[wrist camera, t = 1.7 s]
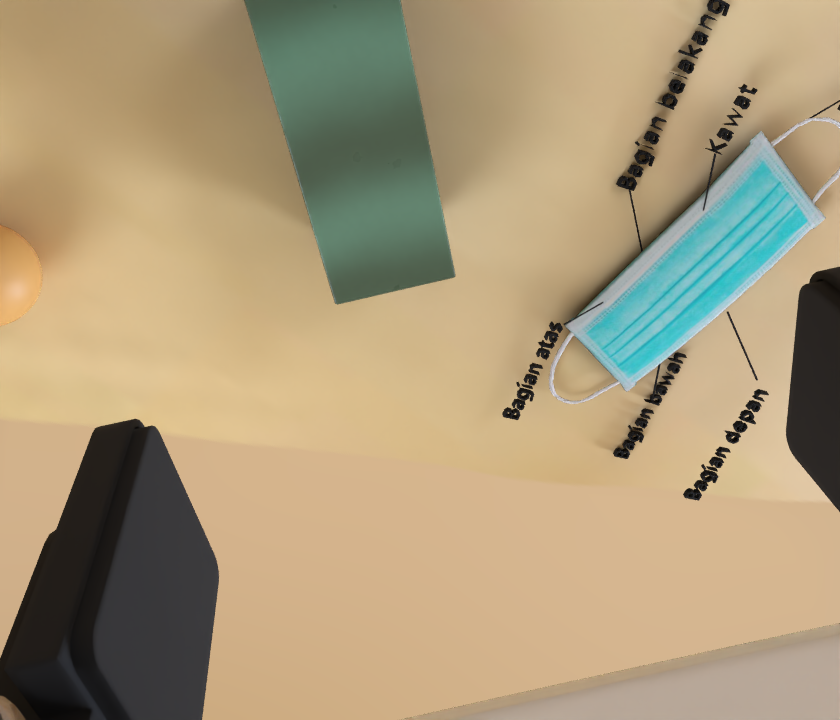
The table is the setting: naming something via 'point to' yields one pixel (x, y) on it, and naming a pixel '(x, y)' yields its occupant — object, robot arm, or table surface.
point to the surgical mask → (691, 268)
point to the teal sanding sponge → (356, 140)
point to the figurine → (17, 276)
